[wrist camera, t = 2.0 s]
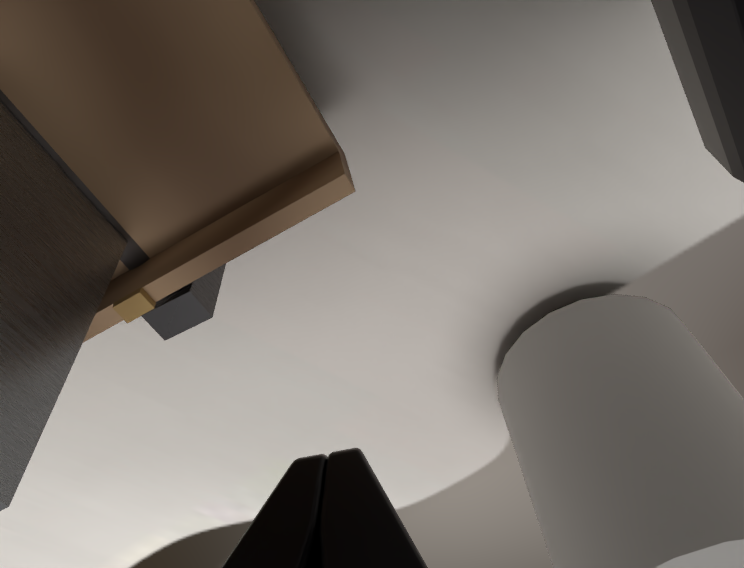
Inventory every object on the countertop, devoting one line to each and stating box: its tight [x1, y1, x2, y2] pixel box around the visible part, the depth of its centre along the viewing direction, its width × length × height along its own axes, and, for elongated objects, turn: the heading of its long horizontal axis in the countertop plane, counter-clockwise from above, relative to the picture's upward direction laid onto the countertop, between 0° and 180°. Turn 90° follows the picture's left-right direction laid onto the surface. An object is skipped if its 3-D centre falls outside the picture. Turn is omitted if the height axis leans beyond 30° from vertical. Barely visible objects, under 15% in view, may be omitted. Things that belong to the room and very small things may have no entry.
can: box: [497, 294, 744, 568], centre depth 19 cm, size 8×8×12 cm
